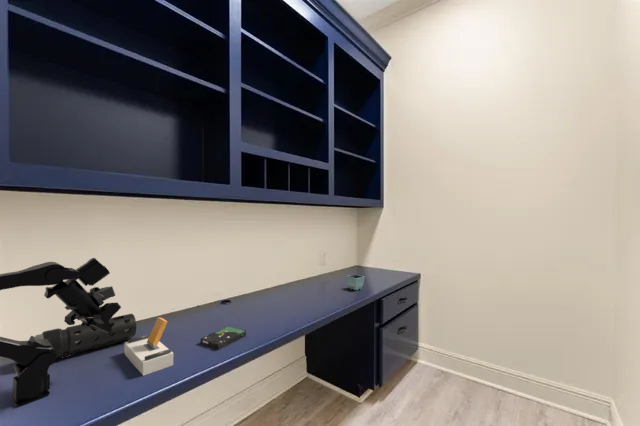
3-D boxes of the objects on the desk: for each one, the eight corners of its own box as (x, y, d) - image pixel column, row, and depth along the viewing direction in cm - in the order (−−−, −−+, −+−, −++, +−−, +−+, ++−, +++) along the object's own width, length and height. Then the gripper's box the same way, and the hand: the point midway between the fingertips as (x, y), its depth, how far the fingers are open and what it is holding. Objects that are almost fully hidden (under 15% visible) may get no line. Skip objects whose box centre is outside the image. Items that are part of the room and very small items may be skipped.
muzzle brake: (136, 342, 115) (136, 316, 115) (37, 370, 94) (37, 338, 94) (128, 335, 122) (129, 310, 122) (33, 360, 101) (34, 329, 101)
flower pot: (355, 292, 194) (356, 278, 194) (346, 289, 201) (346, 275, 201) (364, 289, 200) (364, 276, 200) (354, 287, 207) (355, 274, 207)
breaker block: (143, 375, 92) (143, 359, 92) (124, 354, 106) (124, 339, 106) (173, 365, 99) (173, 349, 99) (152, 345, 112) (152, 332, 112)
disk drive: (219, 351, 110) (246, 336, 123) (219, 344, 110) (246, 330, 123) (199, 345, 115) (228, 331, 128) (199, 338, 115) (228, 325, 128)
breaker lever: (151, 348, 100) (163, 321, 103) (145, 343, 104) (157, 316, 107) (156, 349, 101) (168, 322, 104) (150, 343, 105) (161, 317, 108)
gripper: (117, 275, 91) (148, 309, 98) (80, 280, 98) (111, 312, 105) (86, 303, 82) (121, 339, 89) (47, 306, 89) (83, 340, 96)
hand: (110, 331), depth 95 cm, fingers closed
